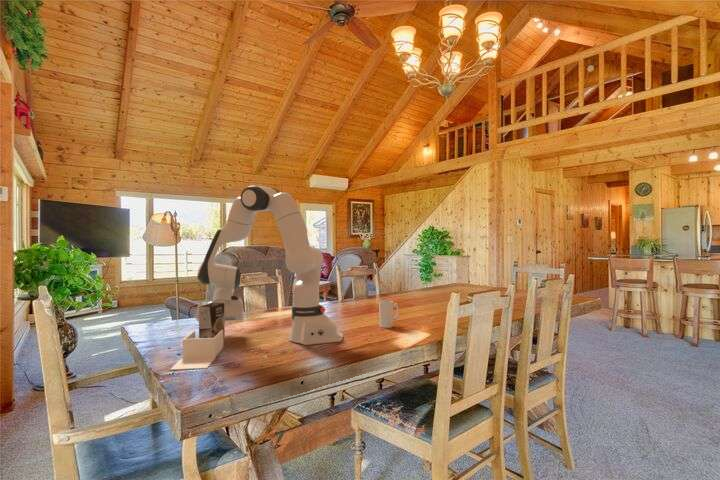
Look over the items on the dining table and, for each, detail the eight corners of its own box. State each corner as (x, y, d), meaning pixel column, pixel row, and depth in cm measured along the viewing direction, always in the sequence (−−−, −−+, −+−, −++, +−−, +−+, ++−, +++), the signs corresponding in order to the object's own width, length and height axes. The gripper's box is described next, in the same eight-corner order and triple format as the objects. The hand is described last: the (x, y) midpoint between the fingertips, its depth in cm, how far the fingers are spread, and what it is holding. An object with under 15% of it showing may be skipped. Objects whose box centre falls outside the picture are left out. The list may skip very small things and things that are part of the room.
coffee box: (213, 347, 155) (212, 306, 154) (198, 346, 156) (197, 306, 156) (225, 341, 164) (224, 302, 163) (211, 340, 165) (211, 302, 165)
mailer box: (224, 347, 155) (223, 329, 155) (207, 368, 130) (206, 347, 130) (193, 348, 153) (192, 330, 153) (169, 370, 129) (169, 349, 129)
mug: (381, 328, 183) (381, 302, 182) (377, 325, 189) (377, 300, 189) (401, 327, 185) (401, 301, 185) (396, 324, 192) (396, 299, 192)
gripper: (197, 298, 175) (190, 325, 165) (244, 296, 177) (240, 323, 167) (200, 306, 179) (194, 333, 169) (246, 305, 181) (242, 331, 172)
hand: (217, 328), depth 168 cm, fingers closed
